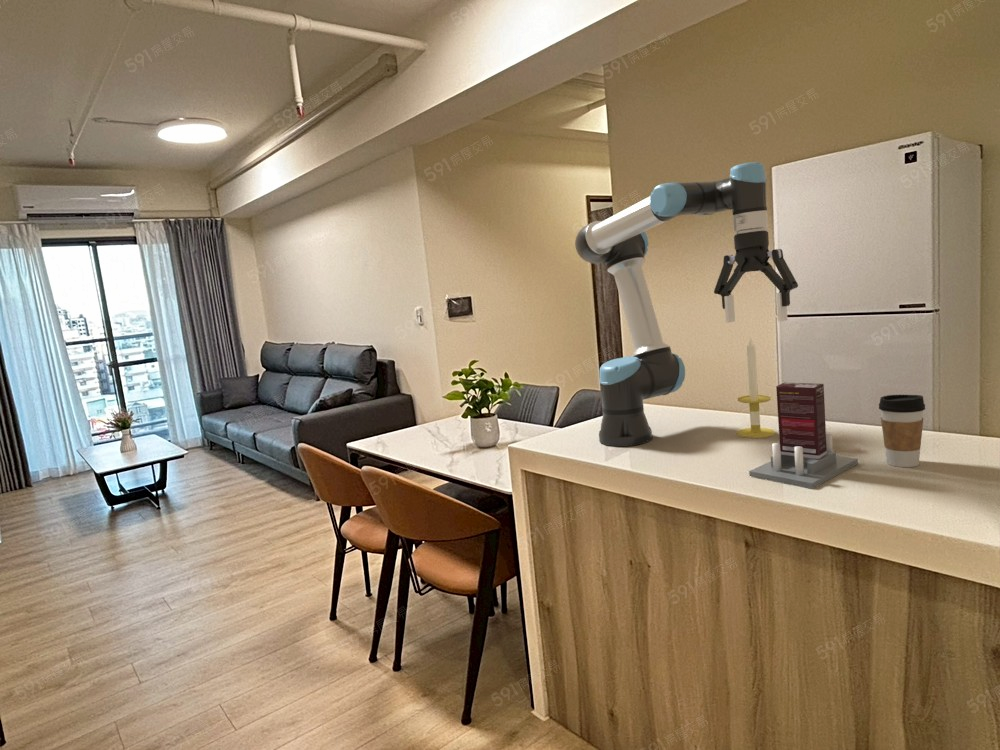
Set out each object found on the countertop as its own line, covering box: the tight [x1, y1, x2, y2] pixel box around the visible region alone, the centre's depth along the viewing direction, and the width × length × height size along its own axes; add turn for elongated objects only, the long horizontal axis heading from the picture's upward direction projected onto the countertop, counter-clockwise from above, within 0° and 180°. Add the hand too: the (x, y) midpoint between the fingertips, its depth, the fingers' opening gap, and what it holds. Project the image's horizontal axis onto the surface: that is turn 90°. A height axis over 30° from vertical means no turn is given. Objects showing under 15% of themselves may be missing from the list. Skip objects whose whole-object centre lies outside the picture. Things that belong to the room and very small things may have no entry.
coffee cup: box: [878, 394, 926, 468], centre depth 132 cm, size 8×8×15 cm
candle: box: [736, 336, 776, 439], centre depth 167 cm, size 10×10×27 cm
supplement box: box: [775, 382, 827, 459], centre depth 135 cm, size 9×5×16 cm, turn 43°
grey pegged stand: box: [748, 432, 859, 490], centre depth 136 cm, size 14×20×7 cm
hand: (755, 321), depth 147 cm, fingers open, 13 cm apart
